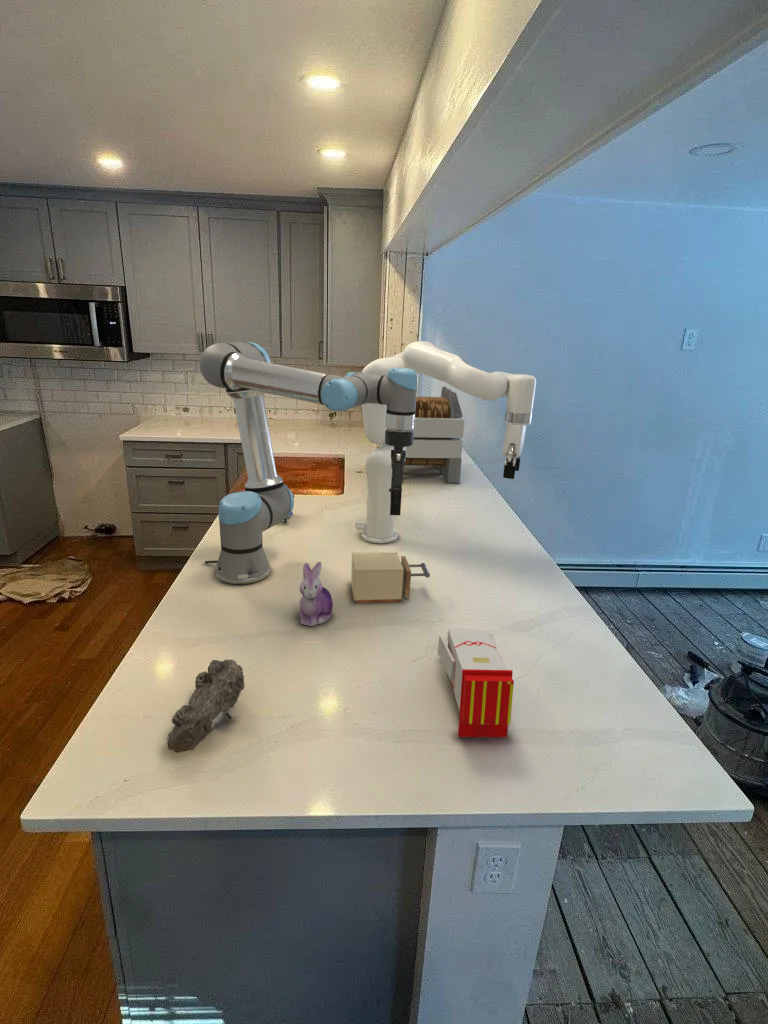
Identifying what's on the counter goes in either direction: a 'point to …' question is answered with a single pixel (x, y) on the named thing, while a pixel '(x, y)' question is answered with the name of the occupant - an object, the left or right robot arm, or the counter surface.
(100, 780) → the counter surface
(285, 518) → the figurine character
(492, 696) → the toy
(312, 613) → the figurine
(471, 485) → the counter surface
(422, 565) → the drawer
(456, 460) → the transformer
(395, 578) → the lidded box
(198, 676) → the fossil
